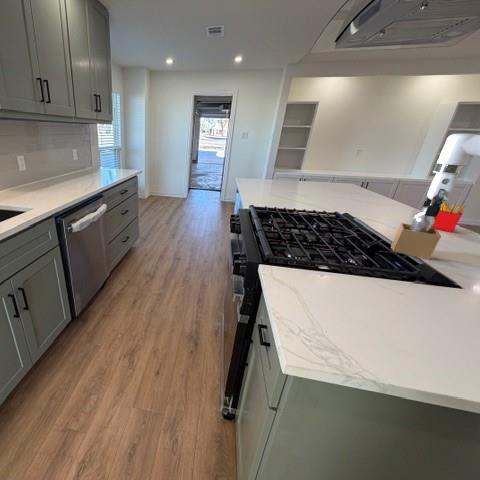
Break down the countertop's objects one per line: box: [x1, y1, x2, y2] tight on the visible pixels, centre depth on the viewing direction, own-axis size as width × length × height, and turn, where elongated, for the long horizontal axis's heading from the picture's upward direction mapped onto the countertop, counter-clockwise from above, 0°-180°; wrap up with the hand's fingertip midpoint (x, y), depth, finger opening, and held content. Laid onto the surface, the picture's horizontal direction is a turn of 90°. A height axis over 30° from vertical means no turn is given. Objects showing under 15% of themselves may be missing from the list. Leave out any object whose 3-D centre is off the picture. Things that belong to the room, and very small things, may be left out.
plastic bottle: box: [410, 206, 434, 233], centre depth 104 cm, size 6×7×20 cm
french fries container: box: [431, 202, 466, 233], centre depth 138 cm, size 7×9×14 cm
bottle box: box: [390, 222, 442, 260], centre depth 106 cm, size 11×10×12 cm
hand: (428, 213), depth 101 cm, fingers open, 9 cm apart
